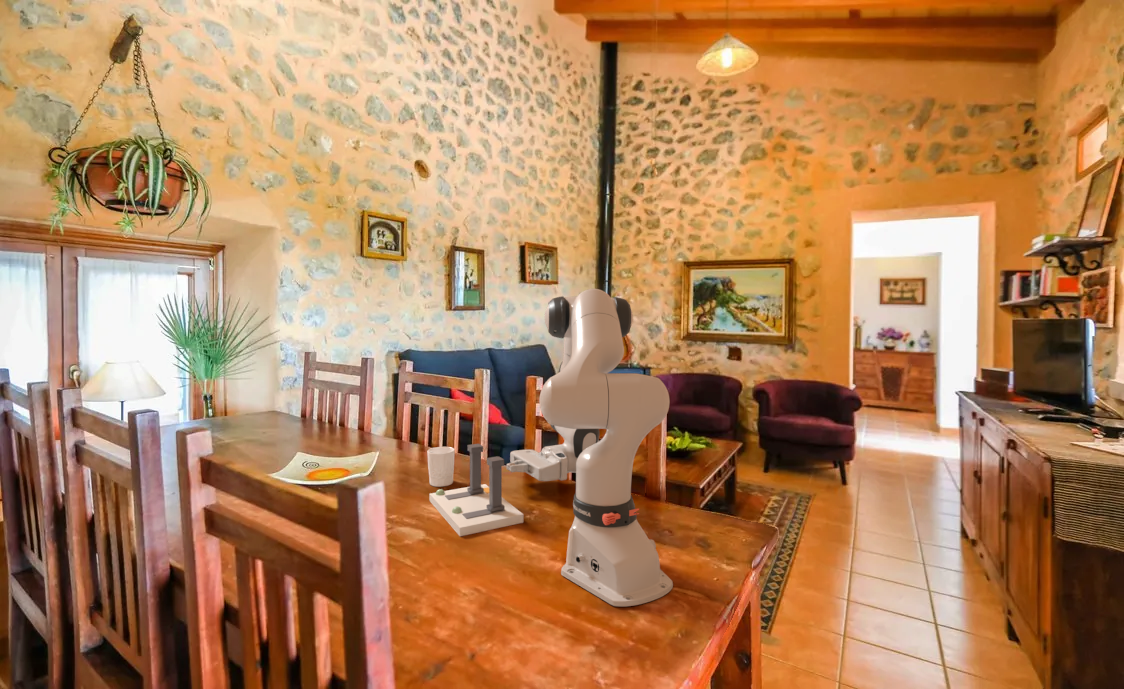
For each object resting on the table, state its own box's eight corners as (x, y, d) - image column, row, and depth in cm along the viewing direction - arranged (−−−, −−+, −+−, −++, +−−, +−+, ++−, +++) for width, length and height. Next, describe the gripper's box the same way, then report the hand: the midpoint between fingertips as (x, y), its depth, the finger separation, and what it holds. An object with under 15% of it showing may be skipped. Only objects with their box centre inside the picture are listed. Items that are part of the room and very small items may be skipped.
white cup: (451, 487, 149) (451, 453, 148) (424, 487, 149) (423, 453, 148) (457, 479, 156) (457, 446, 156) (431, 478, 157) (431, 446, 156)
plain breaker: (504, 509, 126) (504, 459, 125) (491, 512, 125) (491, 461, 124) (499, 505, 129) (499, 456, 128) (486, 507, 127) (486, 458, 126)
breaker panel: (523, 522, 125) (523, 509, 124) (459, 536, 117) (459, 522, 116) (485, 490, 146) (485, 479, 146) (429, 500, 138) (429, 489, 138)
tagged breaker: (483, 491, 138) (483, 446, 138) (471, 494, 137) (470, 447, 136) (479, 488, 141) (479, 443, 140) (467, 490, 139) (466, 445, 139)
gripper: (535, 442, 159) (494, 448, 152) (569, 459, 141) (524, 466, 134) (535, 462, 159) (494, 469, 153) (569, 481, 142) (524, 489, 135)
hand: (508, 468), depth 143 cm, fingers closed
